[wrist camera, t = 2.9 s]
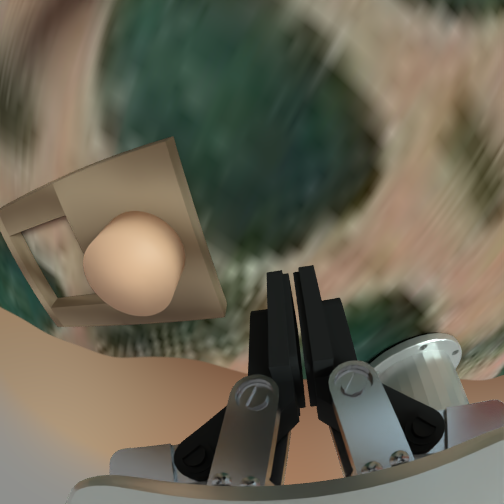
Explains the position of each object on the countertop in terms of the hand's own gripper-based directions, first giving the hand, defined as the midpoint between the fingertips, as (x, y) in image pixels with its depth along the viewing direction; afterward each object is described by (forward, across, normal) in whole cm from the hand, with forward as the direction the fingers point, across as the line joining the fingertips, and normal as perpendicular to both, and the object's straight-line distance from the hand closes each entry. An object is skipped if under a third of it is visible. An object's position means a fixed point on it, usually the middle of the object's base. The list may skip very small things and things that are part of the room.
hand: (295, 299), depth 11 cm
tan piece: (+9, +14, +1) cm, 17 cm away
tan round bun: (+7, +9, +1) cm, 12 cm away
